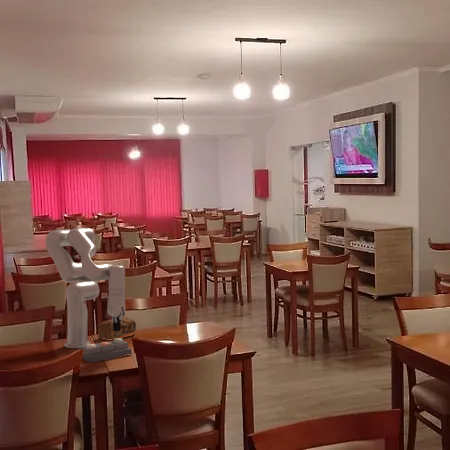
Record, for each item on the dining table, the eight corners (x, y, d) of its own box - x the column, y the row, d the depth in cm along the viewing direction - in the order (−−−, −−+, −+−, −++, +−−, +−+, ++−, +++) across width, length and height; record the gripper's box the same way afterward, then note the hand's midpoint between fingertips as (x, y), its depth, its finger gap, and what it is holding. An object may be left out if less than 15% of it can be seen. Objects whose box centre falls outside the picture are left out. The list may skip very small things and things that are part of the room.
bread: (111, 342, 308) (111, 322, 308) (96, 339, 315) (97, 320, 314) (136, 335, 324) (136, 317, 323) (122, 332, 330) (122, 314, 329)
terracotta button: (98, 348, 280) (98, 342, 280) (106, 346, 283) (106, 341, 283) (103, 350, 277) (103, 344, 277) (111, 348, 279) (111, 343, 279)
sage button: (112, 344, 284) (112, 338, 284) (119, 343, 287) (119, 337, 287) (116, 346, 281) (116, 340, 281) (124, 344, 284) (124, 339, 284)
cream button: (84, 350, 275) (84, 344, 275) (93, 349, 278) (93, 343, 278) (89, 352, 272) (89, 346, 272) (97, 350, 275) (97, 345, 275)
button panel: (78, 357, 278) (78, 345, 277) (118, 350, 291) (118, 338, 291) (90, 362, 268) (90, 350, 268) (131, 355, 282) (131, 343, 282)
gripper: (102, 290, 286) (102, 328, 287) (117, 294, 274) (117, 334, 275) (116, 289, 291) (116, 327, 291) (131, 293, 279) (131, 332, 280)
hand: (116, 330), depth 283 cm, fingers closed
